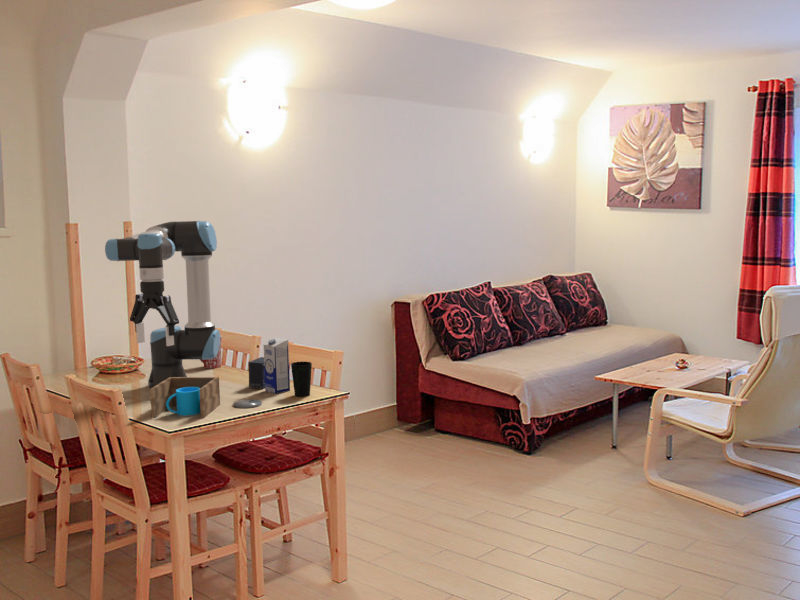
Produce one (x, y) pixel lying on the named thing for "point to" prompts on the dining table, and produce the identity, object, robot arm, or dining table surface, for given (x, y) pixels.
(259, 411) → the dining table surface
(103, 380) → the dining table surface
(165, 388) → the crate
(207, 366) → the mug
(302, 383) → the cup
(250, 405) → the coaster
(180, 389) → the mug
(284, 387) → the milk carton
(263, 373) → the small box
